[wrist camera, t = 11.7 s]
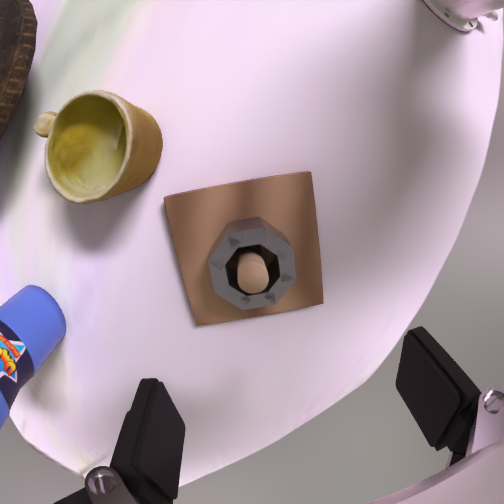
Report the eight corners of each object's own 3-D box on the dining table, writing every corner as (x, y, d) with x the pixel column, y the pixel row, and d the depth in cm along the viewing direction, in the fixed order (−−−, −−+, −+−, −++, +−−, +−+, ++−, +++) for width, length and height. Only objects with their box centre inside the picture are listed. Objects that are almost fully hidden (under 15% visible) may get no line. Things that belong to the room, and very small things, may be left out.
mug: (201, 126, 23) (127, 131, 15) (149, 206, 28) (80, 241, 20) (123, 66, 22) (48, 60, 14) (86, 141, 28) (17, 158, 19)
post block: (307, 171, 27) (331, 175, 20) (319, 297, 31) (341, 333, 24) (167, 195, 27) (144, 208, 20) (198, 318, 31) (189, 360, 24)
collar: (280, 212, 27) (289, 222, 22) (289, 280, 29) (298, 300, 25) (207, 225, 27) (202, 238, 22) (221, 291, 29) (220, 313, 25)
